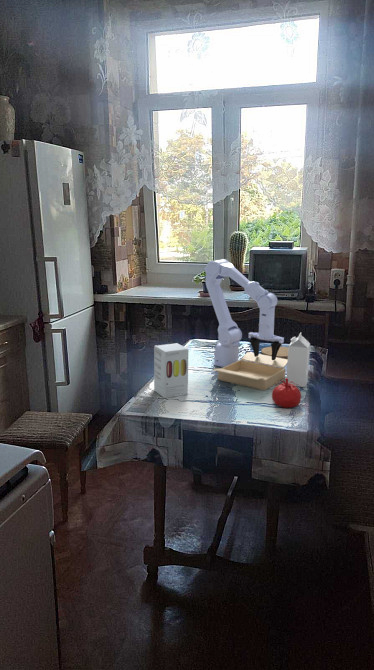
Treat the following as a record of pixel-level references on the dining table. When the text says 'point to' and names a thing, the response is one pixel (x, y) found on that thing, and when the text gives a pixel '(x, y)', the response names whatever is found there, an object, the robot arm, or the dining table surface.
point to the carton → (260, 370)
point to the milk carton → (298, 361)
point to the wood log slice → (281, 353)
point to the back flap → (265, 360)
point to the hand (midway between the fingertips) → (264, 357)
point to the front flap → (238, 374)
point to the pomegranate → (286, 395)
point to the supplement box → (171, 370)
